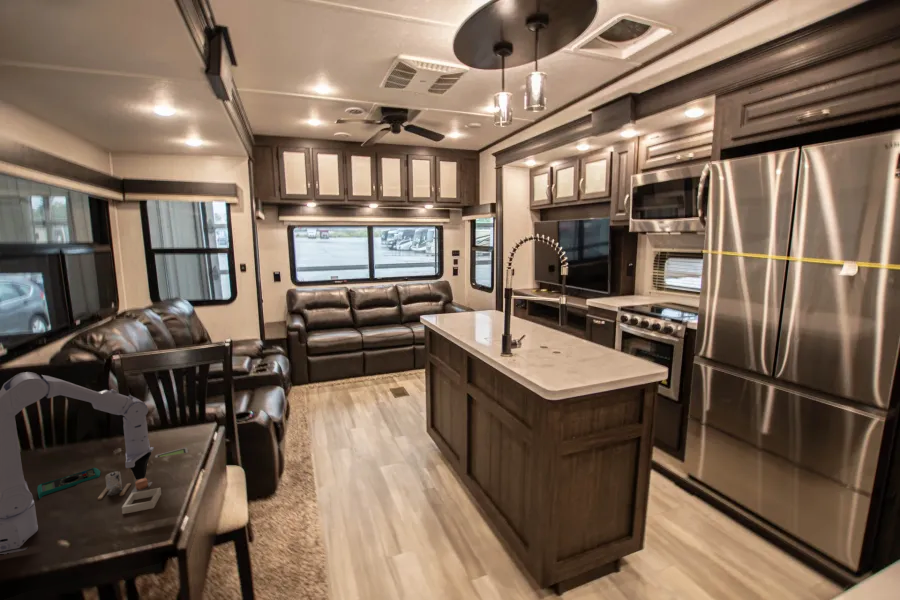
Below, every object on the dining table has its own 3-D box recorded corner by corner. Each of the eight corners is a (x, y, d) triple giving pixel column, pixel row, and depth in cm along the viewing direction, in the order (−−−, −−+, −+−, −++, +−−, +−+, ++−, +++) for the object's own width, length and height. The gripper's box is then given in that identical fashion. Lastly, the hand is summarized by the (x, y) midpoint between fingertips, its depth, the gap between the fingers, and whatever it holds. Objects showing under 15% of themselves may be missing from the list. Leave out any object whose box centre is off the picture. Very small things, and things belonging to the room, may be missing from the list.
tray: (154, 512, 118) (152, 501, 117) (123, 518, 115) (121, 507, 114) (161, 498, 124) (160, 487, 124) (132, 503, 122) (131, 492, 121)
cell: (119, 494, 124) (117, 475, 123) (105, 497, 123) (102, 477, 122) (124, 488, 127) (122, 469, 127) (110, 490, 126) (107, 471, 125)
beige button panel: (150, 498, 124) (149, 492, 124) (93, 509, 119) (92, 503, 119) (160, 479, 134) (160, 474, 134) (108, 489, 129) (108, 483, 129)
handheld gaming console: (156, 472, 137) (154, 454, 149) (157, 476, 137) (155, 458, 149) (191, 462, 143) (186, 446, 155) (191, 466, 143) (187, 450, 155)
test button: (146, 488, 127) (145, 482, 126) (134, 490, 126) (133, 484, 125) (149, 483, 130) (148, 477, 129) (138, 485, 128) (137, 479, 128)
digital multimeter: (102, 481, 134) (101, 473, 134) (39, 502, 123) (37, 493, 123) (99, 473, 139) (98, 465, 139) (37, 492, 128) (36, 483, 128)
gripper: (144, 445, 120) (148, 487, 122) (158, 425, 134) (162, 464, 135) (114, 449, 118) (119, 492, 119) (133, 428, 131) (137, 468, 133)
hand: (140, 477), depth 127 cm, fingers closed
